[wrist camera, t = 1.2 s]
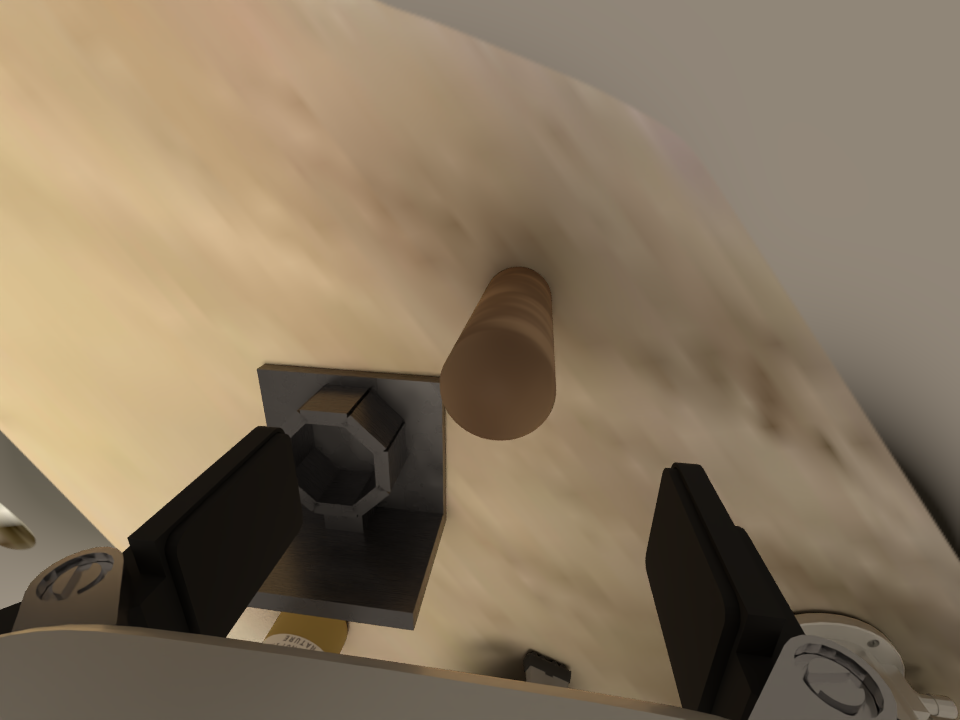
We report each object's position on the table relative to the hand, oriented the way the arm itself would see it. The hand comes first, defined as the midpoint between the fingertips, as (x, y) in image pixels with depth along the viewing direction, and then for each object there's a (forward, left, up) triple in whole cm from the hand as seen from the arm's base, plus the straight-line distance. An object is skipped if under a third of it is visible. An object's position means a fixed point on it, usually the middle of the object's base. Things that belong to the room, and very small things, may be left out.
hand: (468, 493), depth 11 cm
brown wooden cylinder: (0, 0, -20) cm, 20 cm away
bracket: (+12, +13, -20) cm, 27 cm away
